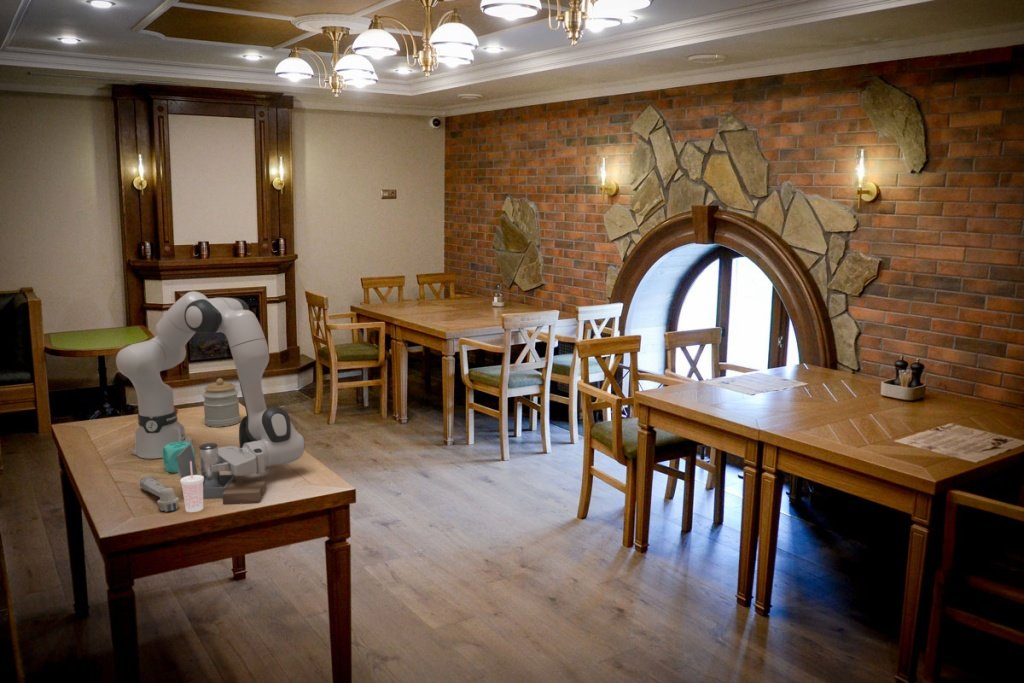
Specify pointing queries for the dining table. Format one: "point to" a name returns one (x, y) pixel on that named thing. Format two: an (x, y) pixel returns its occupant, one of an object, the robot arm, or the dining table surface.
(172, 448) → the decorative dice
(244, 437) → the black egg-shaped speaker
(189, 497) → the beverage cup
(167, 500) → the grey flashlight
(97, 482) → the dining table surface
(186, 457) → the equipment case
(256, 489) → the walnut block
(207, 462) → the steel canister
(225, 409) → the jar
